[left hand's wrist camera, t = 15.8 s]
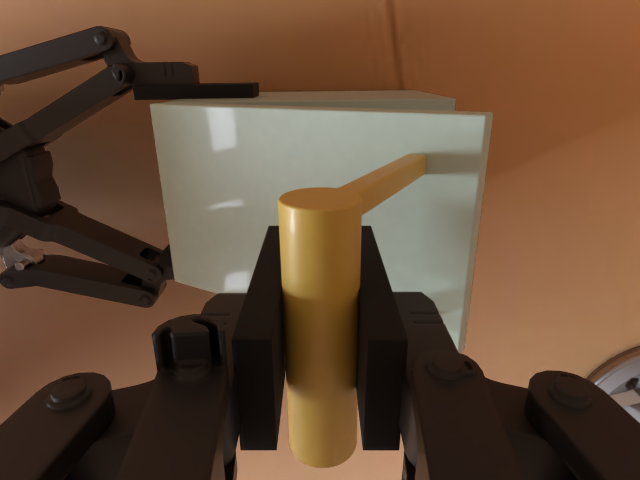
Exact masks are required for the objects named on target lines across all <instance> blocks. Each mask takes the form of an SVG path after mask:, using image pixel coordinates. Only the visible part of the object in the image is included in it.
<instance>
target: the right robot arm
mask: <svg viewBox="0 0 640 480" xmlns="http://www.w3.org/2000/svg"><path fill="white" fill-rule="evenodd" d="M130 44H131V42H130V38H129V36H128V35H127V34H126V33H125V32H124V31H121V30H117V29H113V28H108V27H103V26H96V27H93V28H89V29H86V30H83V31H80V32H76V33H73V34H70V35H66V36H63V37H60V38H57V39H53V40H50V41H47V42H43V43H40V44H37V45H34V46H30V47H27V48H24V49H21V50H17V51H14V52H11V53H7V54H4V55H1V56H0V95H1V92H3V91H4V87H3V85H7V84H18V83H23V82H26V81H30V80H33V79H37V78H40V77H43V76H47V75H50V74H53V73H57V72H60V71H63V70H67V69H70V68H73V67H77V66H80V65H83V64H87V63H90V62H94V61H97V60H100V59H104V61H105V63H106V65H107V68H106V69H104V70H103V71H101V72H100V73H98V74H96V75H95V76H93V77H92V78H90V79H89V80H87V81H85V82H84V83H82V84H81V85H79V86H78V87H76V88H75V89H73V90H71V91H70V92H68V93H67V94H65V95H64V96H62V97H61V98H59V99H57V100H56V101H54V102H53V103H51V104H50V105H48V106H47V107H45V108H43V109H42V110H40V111H39V112H37V113H36V114H34V115H33V116H31V117H29V118H28V119H26V120H24V121H22V122H20V123H17V124H15V125H12V124H10V123H8V122H7V121H5V120H3V119H2V118H0V255H1V257H2V260H3V262H4V265H5V267H6V270H5V271H4V272H2V273H1V274H0V283H1V285H2V286H4V287H6V288H10V289H13V288H22V287H31V286H40V287H45V288H50V289H55V290H60V291H65V292H70V293H75V294H80V295H85V296H90V297H95V298H100V299H105V300H110V301H115V302H120V303H125V304H130V305H135V306H140V307H147V308H148V307H151V306H153V305H154V303H155V302H156V300H157V299H158V298H159V296H160V295H161V293H162V292H163V290H164V289H165V288H166V280H169V279H174V272H173V265H172V258H171V251H170V244H169V245H168V246H167V247H166V248H165V249H164V251H163V250H161V249H159V248H157V247H154V246H152V245H150V244H148V243H145V242H143V241H141V240H139V239H136V238H134V237H132V236H129V235H127V234H125V233H123V232H120V231H118V230H116V229H114V228H111V227H109V226H107V225H105V224H102V223H100V222H98V221H96V220H93V219H91V218H89V217H87V216H84V215H82V214H80V213H79V212H78V210H77V209H76V208H75V207H73V206H71V205H68V204H66V203H64V202H62V201H59V200H60V199H61V197H60V193H59V188H58V186H57V184H56V182H55V180H54V178H53V176H52V170H53V162H52V158H51V153H50V151H45V149H44V146H46V145H48V144H49V143H51V142H52V141H54V140H56V139H57V138H59V137H60V136H61V135H62V134H63V133H64V132H66V131H68V130H69V129H71V128H72V127H74V126H76V125H77V124H79V123H80V122H82V121H84V120H85V119H87V118H88V117H90V116H92V115H93V114H95V113H96V112H98V111H100V110H101V109H103V108H104V107H106V106H108V105H109V104H111V103H112V102H114V101H116V100H117V99H119V98H120V97H122V96H124V95H125V94H127V93H128V92H130V91H132V90H133V92H134V98H135V100H170V99H221V98H255V97H257V96H259V83H199V73H198V66H196V65H194V64H191V63H188V62H151V63H145V62H142V61H140V60H139V59H138V58H137V57H136V56H135V54H134V53H133V50H132V48H131V46H130ZM26 235H29V236H31V237H33V238H36V239H38V240H41V241H46V242H47V241H54V242H57V243H59V244H61V245H64V246H66V247H68V248H71V249H73V250H75V251H78V252H80V253H82V254H85V255H87V256H89V257H92V258H94V259H96V260H99V261H101V262H103V263H106V264H108V265H106V264H101V263H96V262H91V261H86V260H82V259H77V258H72V257H67V256H61V255H45V252H44V250H42V249H38V250H37V249H32V248H28V247H26V246H25V245H24V244H23V243H22V241H21V239H22V238H24V237H25V236H26Z"/></svg>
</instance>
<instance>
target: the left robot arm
mask: <svg viewBox="0 0 640 480" xmlns="http://www.w3.org/2000/svg"><path fill="white" fill-rule="evenodd" d="M152 339H153V346H154V352H155V358H156V364H157V371H158V372H157V375H156V377H155V379H154V380H152V381H149V382H146V383H143V384H139V385H135V386H131V387H126V388H121V389H117V390H112V388H111V383H110V381H109V380H108V379H107V378H106V377H105V376H104V375H101V374H97V373H77V374H73V375H68V376H65V377H62V378H60V379H58V380H56V381H53V382H51V383H49V384H48V385H46V386H45V387H43V388H42V389H41V390H39V391H38V392H36V393H35V394H34V395H33V396H32V397H31V398H30V399H29V400H28V401H26V402H25V403H24V404H23V405H22V406H21V407H20V408H19V409H18V410H17V411H16V412H14V413H13V414H12V415H11V416H10V417H9V418H8V419H7V420H6V421H5V422H3V423H2V424H1V425H0V480H236V478H237V461H236V446H237V441H238V437H240V449H241V450H277V442H278V433H279V424H280V415H281V407H282V398H283V389H284V380H285V371H286V362H285V341H284V320H283V299H282V277H281V256H280V235H279V226H268V229H267V232H266V235H265V238H264V241H263V244H262V248H261V251H260V254H259V257H258V260H257V263H256V266H255V269H254V272H253V275H252V278H251V281H250V284H249V287H248V290H247V293H218V294H217V295H216V296H214V297H213V298H212V299H210V300H209V301H208V302H206V304H205V306H204V308H203V310H202V312H201V315H199V314H193V315H186V316H180V317H177V318H174V319H171V320H168V321H167V322H165V323H163V324H162V325H160V326H159V327H157V329H156V330H155V331H154V332H153V334H152ZM356 392H357V401H358V410H359V419H360V427H361V436H362V445H363V450H399V445H400V433H401V436H402V441H403V445H404V461H403V472H402V480H640V346H639V347H636V348H633V349H630V350H628V351H625V352H623V353H621V354H619V355H617V356H615V357H613V358H612V359H610V360H608V361H607V362H605V363H604V364H602V365H601V366H600V367H598V368H597V369H596V370H595V371H594V372H592V373H591V374H590V375H589V376H588V377H587V378H586V379H585V378H582V377H580V376H578V375H575V374H572V373H567V372H563V371H543V372H540V373H536V374H535V375H534V376H533V377H532V378H531V379H530V381H529V386H528V389H527V388H523V387H518V386H513V385H508V384H504V383H500V382H496V381H493V380H490V379H488V378H485V376H484V374H483V371H482V370H481V368H480V367H479V366H478V364H477V363H476V362H475V361H473V360H472V359H470V358H469V357H468V356H466V355H463V354H461V353H459V352H458V350H457V348H456V346H455V344H454V342H453V340H452V338H451V336H450V334H449V332H448V330H447V328H446V326H445V324H443V320H442V318H441V315H440V314H439V311H438V309H437V307H436V305H435V303H434V301H433V300H431V299H430V298H429V297H427V296H426V295H425V294H423V293H422V292H392V289H391V285H390V282H389V279H388V276H387V273H386V270H385V267H384V264H383V261H382V258H381V255H380V252H379V249H378V246H377V243H376V240H375V236H374V233H373V230H372V227H371V226H362V228H361V272H360V289H359V309H358V341H357V373H356Z"/></svg>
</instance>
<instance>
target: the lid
mask: <svg viewBox="0 0 640 480" xmlns="http://www.w3.org/2000/svg"><path fill="white" fill-rule="evenodd" d="M150 111H151V118H152V125H153V132H154V139H155V146H156V153H157V160H158V167H159V174H160V181H161V188H162V195H163V202H164V209H165V216H166V223H167V230H168V237H169V244H170V251H171V258H172V265H173V272H174V279H175V282H178V283H182V284H185V285H189V286H192V287H196V288H199V289H202V290H206V291H209V292H213V293H216V294H218V293H247V290H248V287H249V284H250V281H251V278H252V275H253V272H254V269H255V266H256V263H257V260H258V257H259V254H260V251H261V248H262V244H263V241H264V238H265V235H266V232H267V229H268V226H279V235H280V256H281V277H282V299H283V320H284V341H285V362H286V383H287V404H288V425H289V444H290V448H291V451H292V452H293V454H294V455H295V457H296V458H297V459H298V460H300V461H301V462H303V463H304V464H306V465H309V466H312V467H317V468H329V467H333V466H337V465H339V464H341V463H343V462H345V461H346V460H347V459H348V458H349V457H350V456H351V455H352V453H353V452H354V450H355V447H356V443H357V405H358V401H357V392H356V373H357V341H358V309H359V289H360V272H361V228H362V226H371V227H372V230H373V233H374V236H375V240H376V243H377V246H378V249H379V252H380V255H381V258H382V261H383V264H384V267H385V270H386V273H387V276H388V279H389V282H390V285H391V289H392V292H422V293H423V294H425V295H426V296H427V297H429V298H430V299H431V300H433V301H434V303H435V305H436V307H437V309H438V311H439V314H440V315H441V318H442V320H443V324H445V326H446V328H447V330H448V332H449V334H450V336H451V338H452V340H453V342H454V344H455V346H456V348H457V350H458V352H459V353H461V354H462V352H463V350H464V347H465V340H466V331H467V323H468V315H469V307H470V299H471V291H472V283H473V275H474V267H475V259H476V251H477V242H478V234H479V226H480V218H481V210H482V202H483V194H484V186H485V178H486V170H487V161H488V153H489V145H490V137H491V129H492V121H493V113H492V112H473V111H440V110H407V109H374V108H341V107H308V106H275V105H242V104H210V103H177V102H165V103H153V104H150Z"/></svg>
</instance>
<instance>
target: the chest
mask: <svg viewBox="0 0 640 480" xmlns="http://www.w3.org/2000/svg"><path fill="white" fill-rule="evenodd" d="M167 102H177V103H210V104H242V105H275V106H308V107H341V108H374V109H407V110H440V111H455V106H456V99H455V98H450V97H446V96H441V95H436V94H431V93H426V92H422V91H416V90H374V91H292V92H259V96H257V97H255V98H221V99H177V100H172V101H167ZM164 103H165V102H164Z"/></svg>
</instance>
